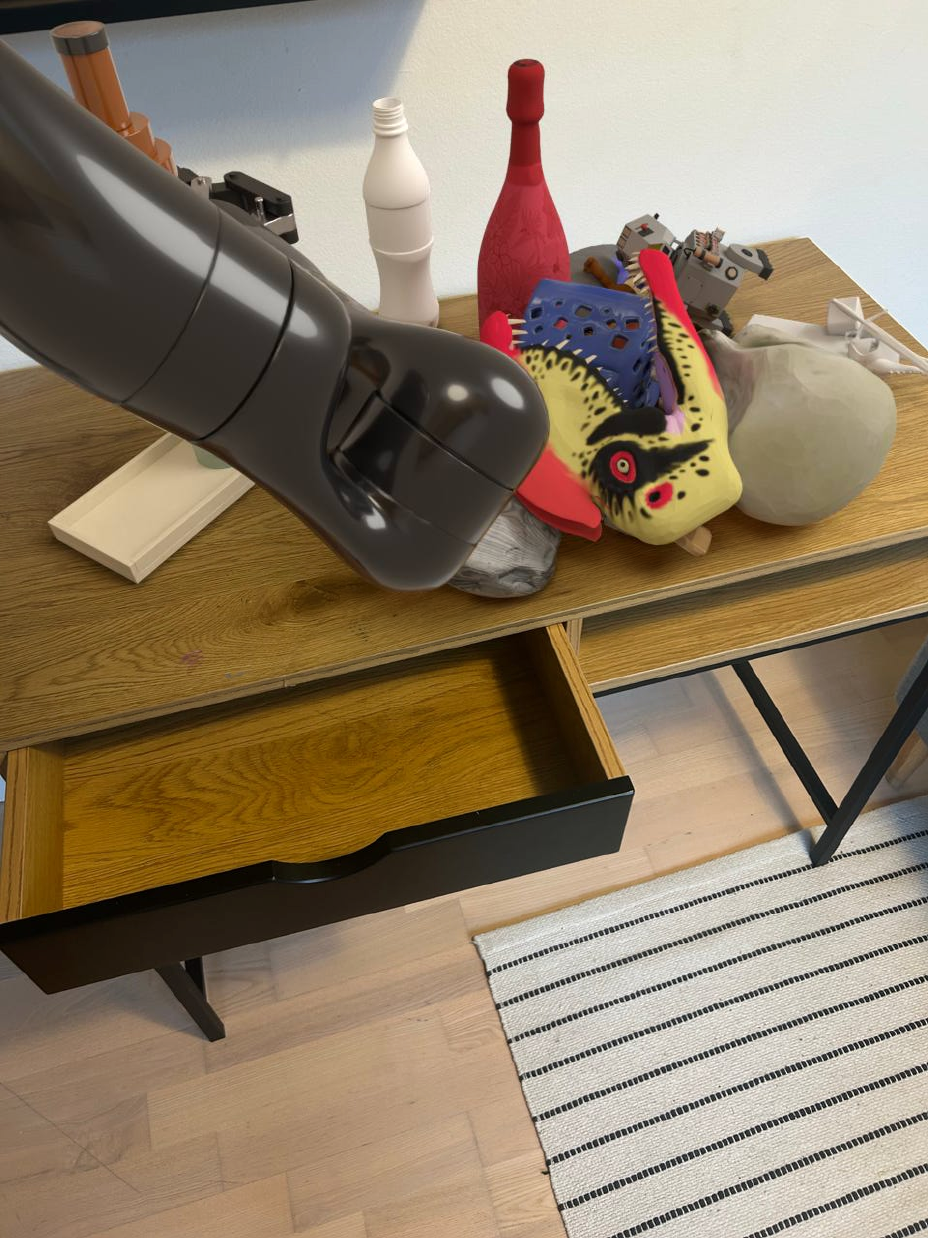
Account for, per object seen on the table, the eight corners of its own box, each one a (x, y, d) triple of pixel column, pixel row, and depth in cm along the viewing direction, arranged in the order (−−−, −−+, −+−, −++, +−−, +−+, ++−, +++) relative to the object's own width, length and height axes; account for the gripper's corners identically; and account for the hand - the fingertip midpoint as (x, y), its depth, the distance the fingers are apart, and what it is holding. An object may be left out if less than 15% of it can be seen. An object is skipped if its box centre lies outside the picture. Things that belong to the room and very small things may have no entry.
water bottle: (370, 344, 102) (338, 112, 82) (396, 313, 106) (370, 86, 87) (426, 354, 100) (405, 120, 80) (450, 322, 104) (435, 93, 85)
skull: (616, 414, 85) (783, 487, 90) (653, 493, 70) (850, 574, 75) (697, 268, 77) (874, 355, 82) (757, 321, 63) (969, 424, 67)
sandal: (574, 431, 78) (541, 477, 79) (700, 525, 70) (661, 574, 71) (607, 453, 83) (576, 495, 85) (728, 542, 75) (692, 588, 76)
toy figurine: (627, 373, 99) (655, 335, 102) (646, 360, 96) (674, 321, 98) (553, 299, 96) (583, 262, 99) (569, 282, 93) (600, 244, 96)
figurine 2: (719, 385, 95) (966, 438, 84) (727, 318, 89) (994, 366, 79) (757, 331, 102) (990, 374, 91) (767, 266, 96) (1017, 303, 85)
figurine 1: (756, 227, 99) (642, 180, 95) (780, 279, 92) (657, 230, 87) (712, 295, 105) (603, 254, 101) (731, 349, 98) (614, 307, 94)
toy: (666, 215, 73) (442, 291, 75) (781, 489, 64) (525, 567, 66) (662, 272, 80) (457, 340, 82) (765, 527, 71) (534, 596, 73)
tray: (137, 584, 78) (128, 566, 76) (56, 539, 82) (46, 521, 80) (372, 385, 96) (369, 367, 94) (296, 357, 100) (292, 339, 99)
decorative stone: (588, 583, 73) (527, 626, 81) (551, 444, 77) (497, 498, 85) (437, 581, 66) (386, 628, 74) (406, 428, 70) (362, 489, 78)
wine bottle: (532, 327, 102) (538, 34, 80) (583, 365, 97) (606, 62, 74) (463, 355, 99) (449, 58, 76) (512, 396, 94) (512, 89, 71)
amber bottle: (132, 393, 58) (-3, 49, 43) (157, 344, 62) (43, 12, 47) (218, 394, 58) (114, 46, 42) (239, 344, 61) (150, 9, 46)
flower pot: (622, 484, 85) (662, 400, 90) (623, 385, 74) (669, 295, 79) (501, 452, 90) (546, 374, 95) (485, 354, 79) (537, 272, 84)
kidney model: (538, 299, 95) (561, 198, 104) (526, 348, 101) (549, 250, 110) (674, 330, 95) (685, 227, 104) (653, 378, 101) (666, 277, 110)
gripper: (354, 187, 43) (209, 97, 52) (80, 280, 38) (-28, 163, 47) (371, 322, 49) (238, 220, 58) (135, 419, 44) (29, 291, 53)
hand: (119, 195), depth 53 cm, fingers closed on amber bottle, 6 cm apart
